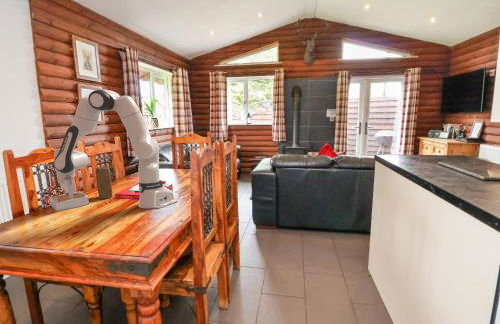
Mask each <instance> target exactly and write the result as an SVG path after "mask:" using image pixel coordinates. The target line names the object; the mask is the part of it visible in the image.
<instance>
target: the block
mask: <svg viewBox="0 0 500 324" xmlns="http://www.w3.org/2000/svg"><path fill="white" fill-rule="evenodd" d="M95 179H96V180H95V181H96V185H97V191H98V197H99V199H101V200H105V199H106V200H107V199H110V198H112V197H113V186H112V185H113V184H112V176H111V170H110V167H109V166H108V165H103V166H98V167H96V168H95Z"/></svg>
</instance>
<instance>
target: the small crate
mask: <svg viewBox="0 0 500 324" xmlns="http://www.w3.org/2000/svg"><path fill="white" fill-rule="evenodd" d="M61 195H62V196H59V195H56V196H57V199H58V202H61V201H66V200H71V199H69V194H68V195H64V194H61ZM77 198H80V195H79V194H78V193H75V192H73V199H77Z"/></svg>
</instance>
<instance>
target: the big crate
mask: <svg viewBox="0 0 500 324" xmlns="http://www.w3.org/2000/svg"><path fill="white" fill-rule="evenodd" d="M74 193H78V194H79V195H80V198H77V199H71V200H66V201H61V202H58V199H57V196H62V195H65V193H64V194H60V195H55V196H49V197H48V198H49V205H50V207H51V208H52V209H53V210H54V211H55V212H62V211H66V210H70V209H76V208H80V207H85V205H86V206H89V205H90V202H89V201H90V200H89V196H88V195H87V194H85V193H84V192H82V191H76V192H74Z"/></svg>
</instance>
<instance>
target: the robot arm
mask: <svg viewBox="0 0 500 324" xmlns="http://www.w3.org/2000/svg"><path fill="white" fill-rule="evenodd" d="M102 111H103V112H105V111H108V112H109V111H115V112H116V113H117V115H118V116H119V118H120V121H121V122H122V124H123V127H124V128H125V130H126V132H127V134H128V138H129V141H130V142H131V145H132V146H131V147H132V148H133V153H134V155H135V157H137V158H138V168H137V170H138V180H139V181H138V191H139V200H138V204H137V205H138V208H140V209H161V208H164V207H166V206H170V205H172V204H176V203H178V202H179V199H178V198H177V197H175V196H174V193H173V191H172V190H171V189H169V188H168V187H165V186H164V185H166V184H167V181H166V180H161V179H160V145H159V142H158V141H157V139H155V138H154V137H152V136H151V133H150V130H149V127H148V124H147V122H146V120H145V118H144V116H143V113H142V112H141V110H140V108H139V106H138V104H137V103H136V102H135V100H134V99H133V98H132V96H129V95H122V94H120V93H119V92H118V91H116V90H109V89H95V90H92V91H91V92H90V93H89V95H88V96H84V97H81V99H80V100H79V102H78V104H77V107H76V109H75V115H74V118H73V121H72V123H71V124H70V126H69V127H68V128H67V130H66V132H65V134H64V136H63V140H62V142H61V146H59V147H56V148H55V149H54V152H53V153H54V154H53V155H54V157H53V158H54V159H53V166H54V168H55V172H56V173H55V174H56V179H57V180H58V182H59V183H58V184H59V186H60V188H61V189H62V190H63V192H64V194H65V195H68V194H69V199H73V193H75V192H77V187H76V182H75V179H74V177H75V176H76V171H77V170H80V169H84V168H87V166H88V165H89V164H90V157H89V155H88V154H87V153H86V152H83V151H80V150H79V151H78V150H76V145H77V143H78V142H79V141H80V139H83V137H85V136H87V135H90V134H91V133H93V132H94V131H95V130H96V128H97V126H98V123H99V118H100V113H101V112H102Z"/></svg>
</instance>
